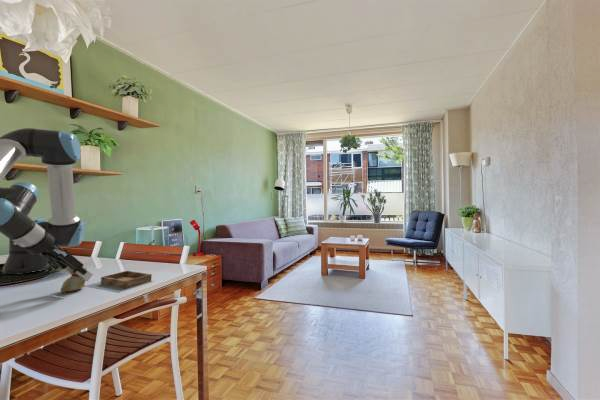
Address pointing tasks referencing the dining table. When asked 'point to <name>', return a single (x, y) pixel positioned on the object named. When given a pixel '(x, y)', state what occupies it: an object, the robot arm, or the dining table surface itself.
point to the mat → (111, 287)
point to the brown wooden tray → (126, 279)
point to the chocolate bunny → (73, 282)
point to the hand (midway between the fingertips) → (84, 276)
